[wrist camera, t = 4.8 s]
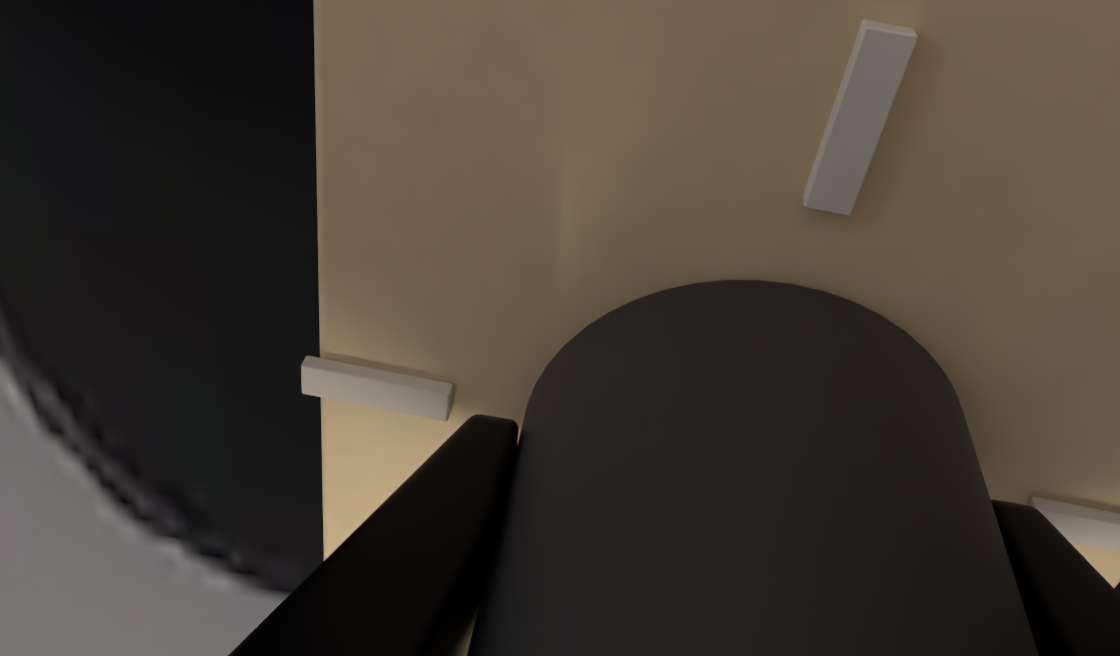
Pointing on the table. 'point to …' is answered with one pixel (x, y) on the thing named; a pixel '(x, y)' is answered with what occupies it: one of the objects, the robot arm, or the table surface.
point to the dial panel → (719, 209)
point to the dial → (747, 491)
